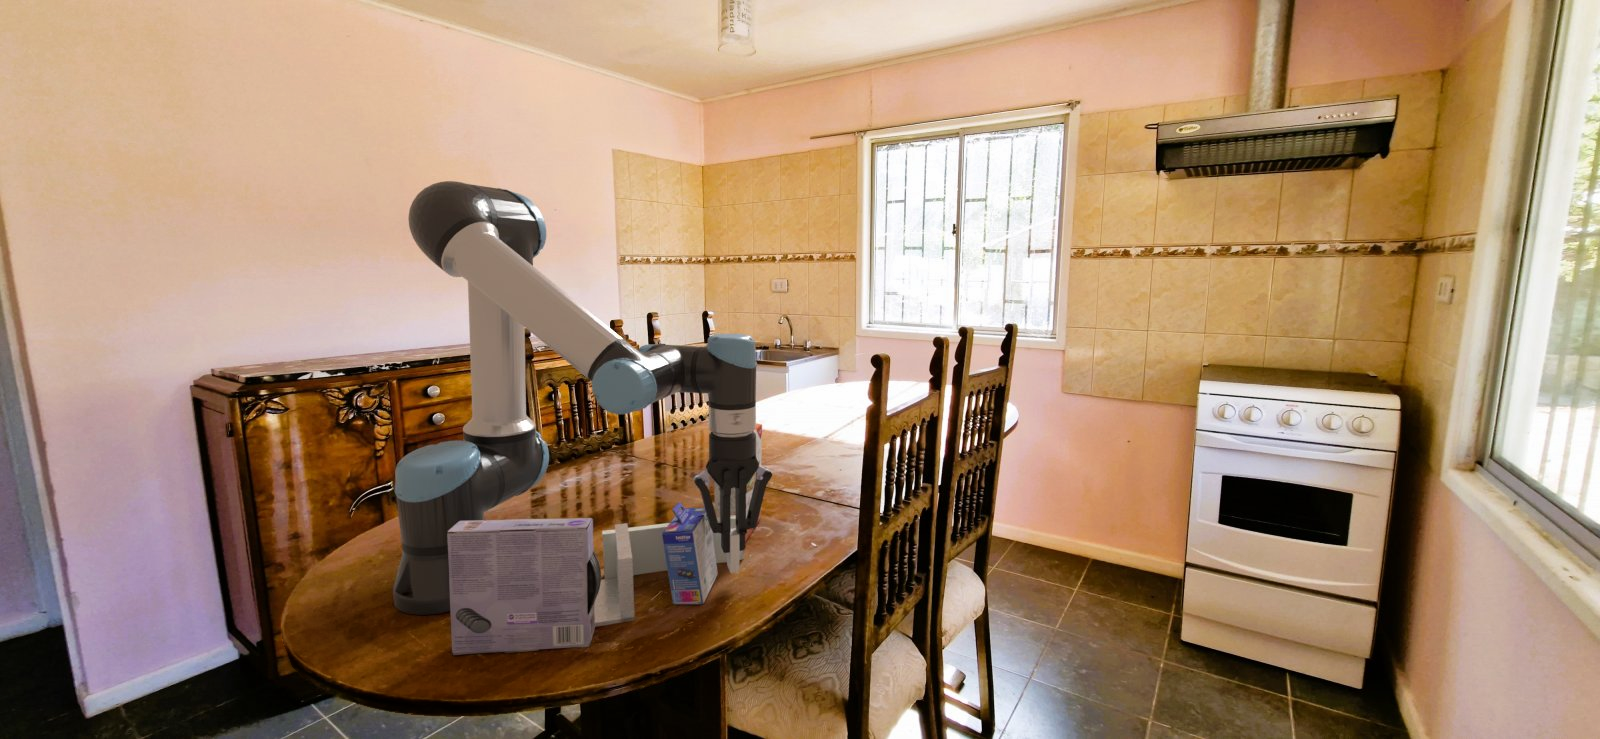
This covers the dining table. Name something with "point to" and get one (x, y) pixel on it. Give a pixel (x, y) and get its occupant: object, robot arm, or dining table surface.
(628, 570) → the bookend
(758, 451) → the cracker box
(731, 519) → the back wall
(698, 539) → the ink cartridge box
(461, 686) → the dining table surface
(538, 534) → the cake pan box
